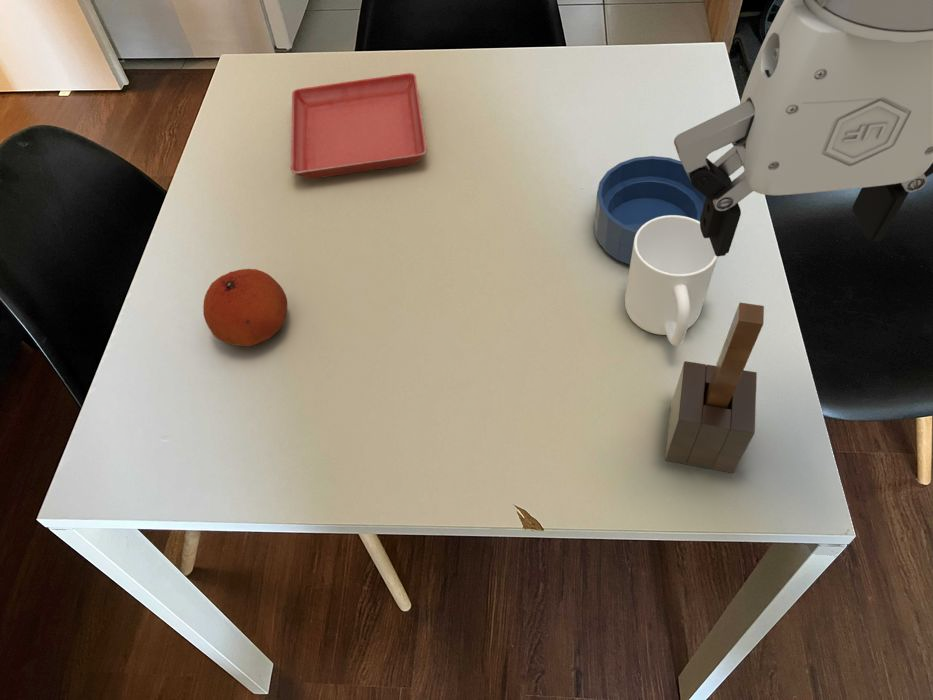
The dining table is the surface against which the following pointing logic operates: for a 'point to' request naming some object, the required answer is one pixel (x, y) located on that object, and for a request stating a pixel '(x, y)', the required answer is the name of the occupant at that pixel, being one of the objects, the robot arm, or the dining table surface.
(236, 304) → the fruit
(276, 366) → the dining table surface
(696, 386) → the stand
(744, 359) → the stick
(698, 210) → the bowl
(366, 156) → the plant saucer
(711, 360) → the dining table surface
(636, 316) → the cup
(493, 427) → the dining table surface
